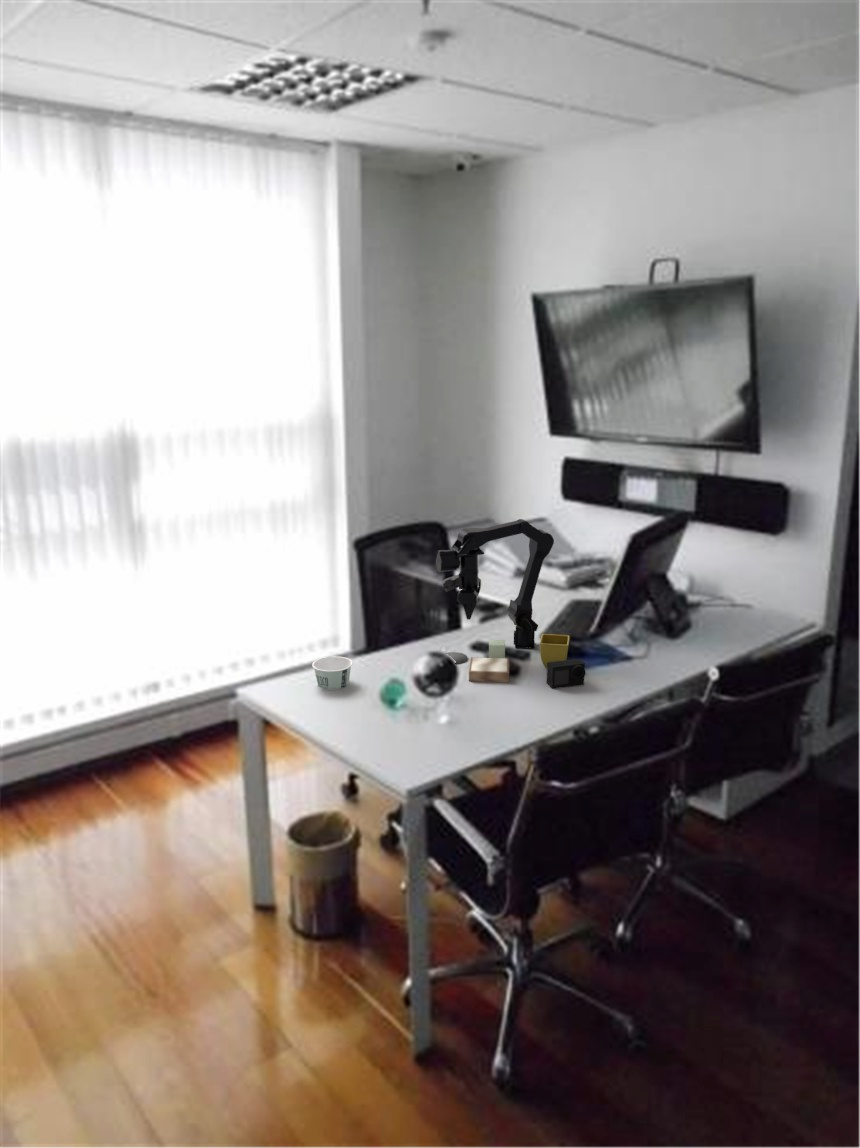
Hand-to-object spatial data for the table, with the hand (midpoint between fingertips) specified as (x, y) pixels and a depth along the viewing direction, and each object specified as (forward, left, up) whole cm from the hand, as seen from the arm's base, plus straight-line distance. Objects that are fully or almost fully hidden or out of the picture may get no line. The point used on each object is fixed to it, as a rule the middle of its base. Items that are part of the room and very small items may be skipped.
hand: (469, 614), depth 286 cm
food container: (+40, +30, -13) cm, 51 cm away
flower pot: (-27, +11, -13) cm, 32 cm away
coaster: (+5, +7, -13) cm, 15 cm away
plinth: (-7, +19, -13) cm, 24 cm away
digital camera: (-30, +26, -13) cm, 42 cm away
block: (-9, +7, -13) cm, 17 cm away
